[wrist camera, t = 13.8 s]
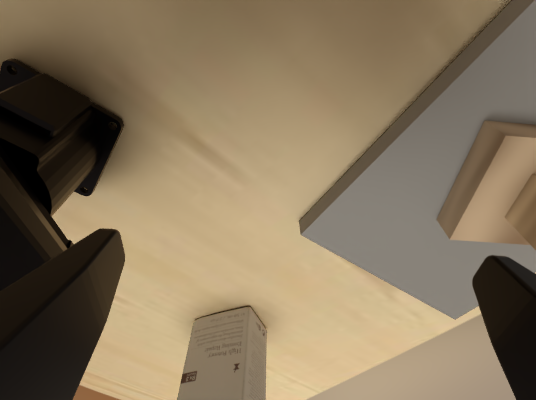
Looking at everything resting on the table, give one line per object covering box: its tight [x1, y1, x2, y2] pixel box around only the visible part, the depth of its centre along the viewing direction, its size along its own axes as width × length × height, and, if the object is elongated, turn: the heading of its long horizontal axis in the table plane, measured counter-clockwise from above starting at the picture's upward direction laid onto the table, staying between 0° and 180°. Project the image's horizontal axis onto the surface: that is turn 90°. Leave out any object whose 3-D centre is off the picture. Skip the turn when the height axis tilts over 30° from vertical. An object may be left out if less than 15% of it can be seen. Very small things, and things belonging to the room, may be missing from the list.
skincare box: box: [177, 307, 267, 400], centre depth 27 cm, size 6×4×12 cm
